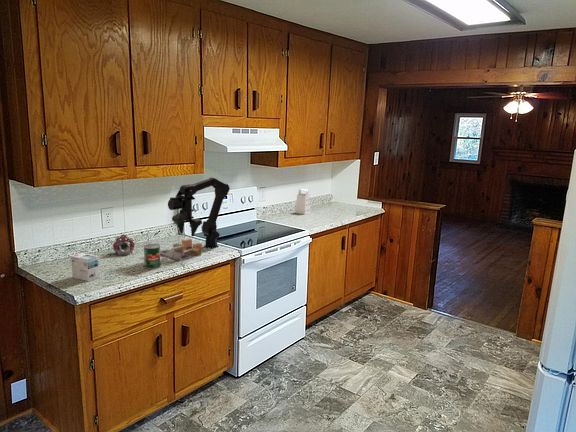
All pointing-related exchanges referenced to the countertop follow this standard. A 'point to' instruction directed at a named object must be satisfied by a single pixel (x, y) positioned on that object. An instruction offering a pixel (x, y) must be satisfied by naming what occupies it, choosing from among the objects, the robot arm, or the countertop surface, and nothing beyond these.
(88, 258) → the light bulb box
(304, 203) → the grater
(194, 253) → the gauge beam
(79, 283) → the countertop surface
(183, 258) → the flange plate
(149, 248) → the canned tomato
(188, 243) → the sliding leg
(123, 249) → the maroon piece
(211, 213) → the robot arm
